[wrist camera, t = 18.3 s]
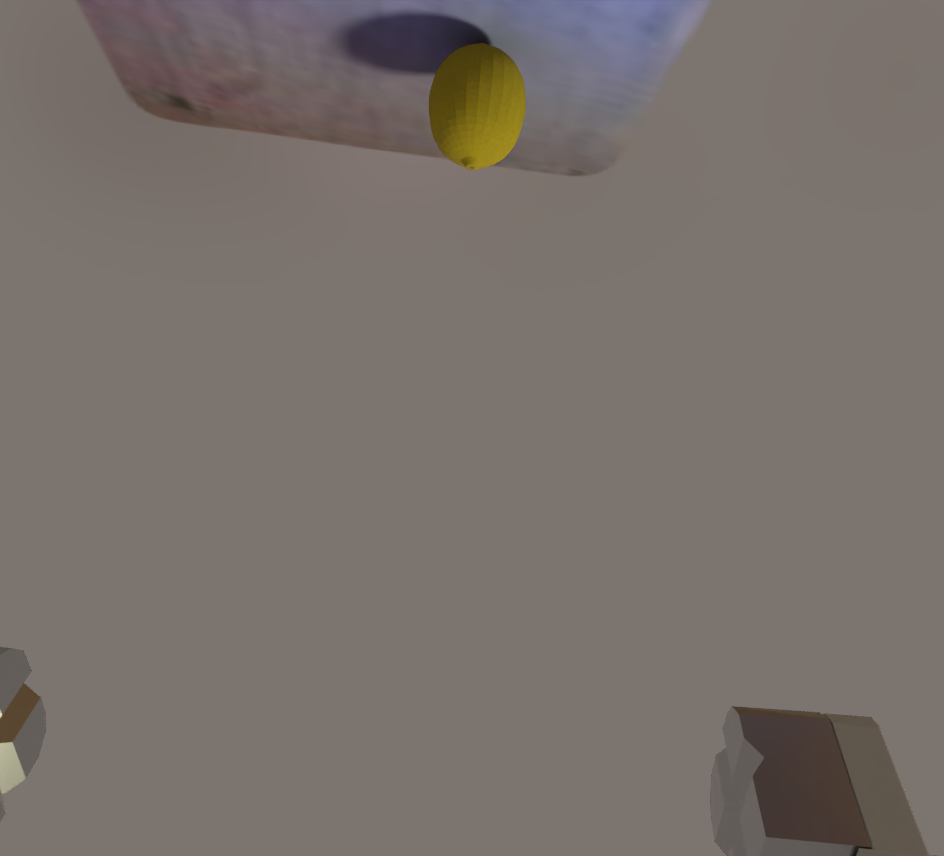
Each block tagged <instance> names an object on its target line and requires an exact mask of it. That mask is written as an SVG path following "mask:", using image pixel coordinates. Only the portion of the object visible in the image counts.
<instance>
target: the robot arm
mask: <svg viewBox="0 0 944 856" xmlns="http://www.w3.org/2000/svg"><path fill="white" fill-rule="evenodd" d="M31 671H32V670H31V668H30V666H29V663H28V661H27V658H26V656H25V653H24V651H22V650H17V649H13V648H4V647H0V821H1V819H2V818H3V816H4V814H5V808H4V801H3V794H4V793H6V792H7V791H9V790H10V789H12V788H13V787H14V786H16V785H17V784H19V783H20V782H22V781H23V780H25V779H26V778H27V776H28V774H29V772H30V771H31V769H32V767H33V765H34V764H35V762H36V760H37V758H38V757H39V753H40V750H41V746H42V743H43V739H44V735H45V732H46V722H45V721H46V720H45V709H44V706H43V703H42V700H41V697H40V696H38V695H37V694H36V693H35V692H33V691H32V690H31V689H30V688H29V687H28V686H27V685H25V684H24V681H25V680H26V679H27V677H28V676H29V674H30V673H31ZM723 732H724V738H725V743H726V749H724V750H723V751H721V752H720V753H718V754H717V755H716V757H715V761H714V766H713V770H712V775H711V792H710V807H711V820H712V827H713V833H714V840H715V842H716V843H717V845H718V846H719V847H720V848H721V849H722V851H723V852H724V853H725V854H726V855H727V856H936V855H929V853H928V850H927V847H926V845H925V842H924V840H923V837H922V835H921V832H920V829H919V827H918V824H917V822H916V819H915V817H914V814H913V811H912V809H911V806H910V804H909V801H908V799H907V797H906V794H905V791H904V788H903V786H902V783H901V781H900V778H899V776H898V773H897V771H896V768H895V765H894V763H893V760H892V758H891V755H890V753H889V750H888V747H887V745H886V742H885V740H884V737H883V735H882V732H881V730H880V727H879V725H878V724H877V723H876V722H875V721H874V720H873V719H872V717H864V716H851V715H837V714H826V713H825V714H821V713H819V712H805V711H791V710H778V709H763V708H748V707H735V706H732V707H731V709H730V710H729V711H728V713H727V715H726V719H725V722H724V726H723Z"/></svg>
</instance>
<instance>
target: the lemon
mask: <svg viewBox="0 0 944 856" xmlns="http://www.w3.org/2000/svg"><path fill="white" fill-rule="evenodd" d="M525 108H526V98H525V89H524V83H523V78H522V76H521V73H520V71H519V70H518V68H517V66H516V64H515V63H514V61H513V60H512V59H511V58H510V57H509V56H508V55H507V54H506V53H505V52H503V51H502V50H500V49H498V48H496V47H493V46H491V45H487V44H486V43H483V42H481V43H478V44H470V45H466V46H463V47H461V48H459V49H457V50H455V51H454V52H452V53H451V54H450V55H448V56H447V58H446V59H445V60H444V61H443V62H442V64H441V65H440V66H439V68H438V70H437V72H436V74H435V77H434V80H433V83H432V86H431V90H430V96H429V115H430V124H431V130H432V134H433V137H434V140H435V142H436V143H437V145H438V147H439V149H440V150H441V151H442V153H443V154H444V155H445V156H446V157H447V158H449V159H450V160H451V161H453V162H454V163H456V164H458V165H460V166H462V167H466V168H467V169H469V170H477V169H480V168H485V167H488V166H491V165H494V164H495V163H497V162H499V161H500V160H502V159H503V158H504V157H506V155H507V154H508V153H509V152H510V151H511V149H512V148H513V147H514V145H515V143H516V141H517V139H518V136H519V133H520V130H521V127H522V124H523V120H524V115H525Z"/></svg>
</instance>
